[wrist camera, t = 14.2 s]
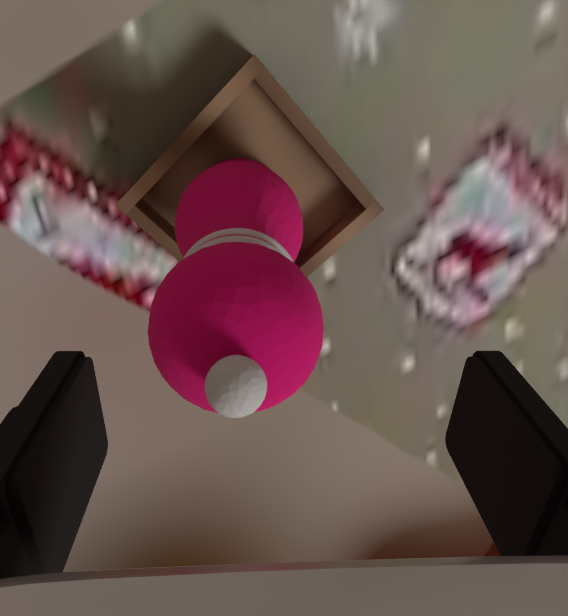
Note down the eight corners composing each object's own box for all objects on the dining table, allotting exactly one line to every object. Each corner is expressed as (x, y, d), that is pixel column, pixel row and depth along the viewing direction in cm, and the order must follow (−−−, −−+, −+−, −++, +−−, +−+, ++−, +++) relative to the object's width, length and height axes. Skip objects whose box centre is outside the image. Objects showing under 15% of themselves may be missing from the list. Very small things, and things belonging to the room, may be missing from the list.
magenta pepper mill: (162, 181, 29) (34, 359, 11) (265, 128, 28) (304, 232, 10) (218, 275, 32) (186, 529, 14) (312, 231, 31) (402, 444, 13)
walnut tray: (253, 55, 27) (254, 54, 24) (373, 199, 31) (383, 209, 29) (124, 194, 30) (114, 205, 27) (251, 307, 34) (252, 324, 32)
